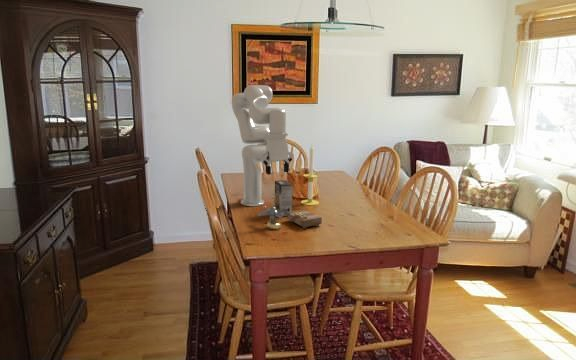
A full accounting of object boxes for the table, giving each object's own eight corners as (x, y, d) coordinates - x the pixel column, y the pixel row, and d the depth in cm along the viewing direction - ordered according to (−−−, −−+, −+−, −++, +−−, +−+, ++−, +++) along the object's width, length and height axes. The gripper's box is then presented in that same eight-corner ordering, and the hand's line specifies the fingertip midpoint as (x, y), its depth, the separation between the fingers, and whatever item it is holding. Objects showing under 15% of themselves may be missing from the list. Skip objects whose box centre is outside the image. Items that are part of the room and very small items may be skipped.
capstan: (249, 223, 214) (249, 204, 212) (276, 218, 222) (276, 200, 220) (266, 234, 201) (266, 214, 199) (295, 228, 209) (295, 209, 207)
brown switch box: (287, 220, 220) (287, 209, 219) (304, 217, 225) (304, 206, 224) (303, 229, 209) (304, 217, 207) (321, 226, 214) (321, 214, 213)
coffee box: (273, 211, 235) (274, 180, 231) (285, 210, 237) (286, 179, 233) (279, 216, 226) (280, 184, 222) (292, 215, 228) (292, 184, 225)
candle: (309, 206, 244) (311, 146, 236) (297, 202, 252) (298, 143, 244) (322, 203, 250) (325, 144, 243) (310, 199, 258) (312, 141, 250)
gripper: (288, 134, 218) (288, 170, 221) (256, 136, 209) (257, 173, 212) (297, 136, 212) (297, 172, 215) (265, 138, 203) (265, 176, 206)
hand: (277, 173), depth 214 cm, fingers open, 9 cm apart
